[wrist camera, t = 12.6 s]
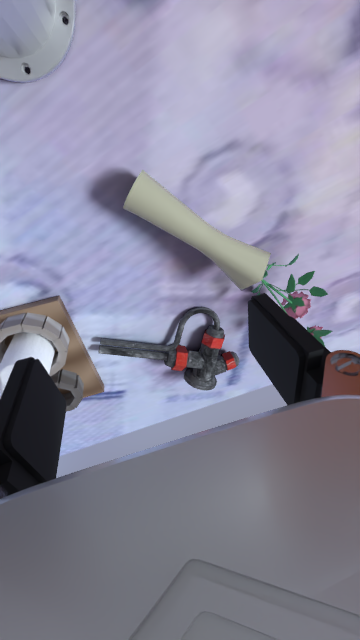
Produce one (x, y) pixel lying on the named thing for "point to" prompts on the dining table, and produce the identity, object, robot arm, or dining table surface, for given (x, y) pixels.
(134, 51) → the dining table surface
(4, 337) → the fitting board
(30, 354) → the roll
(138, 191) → the flower vase
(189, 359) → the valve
